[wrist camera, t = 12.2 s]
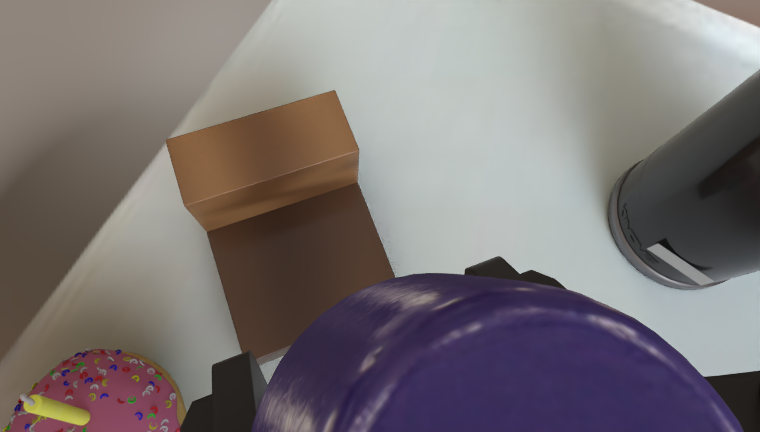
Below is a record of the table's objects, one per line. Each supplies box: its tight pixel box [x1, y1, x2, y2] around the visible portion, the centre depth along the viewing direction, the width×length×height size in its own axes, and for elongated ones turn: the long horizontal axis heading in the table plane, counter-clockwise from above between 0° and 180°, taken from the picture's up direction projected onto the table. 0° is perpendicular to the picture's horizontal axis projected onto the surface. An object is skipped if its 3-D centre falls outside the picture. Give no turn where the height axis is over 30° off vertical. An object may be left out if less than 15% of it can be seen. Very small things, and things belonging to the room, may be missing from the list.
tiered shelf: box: [166, 90, 395, 365], centre depth 30 cm, size 10×12×8 cm
